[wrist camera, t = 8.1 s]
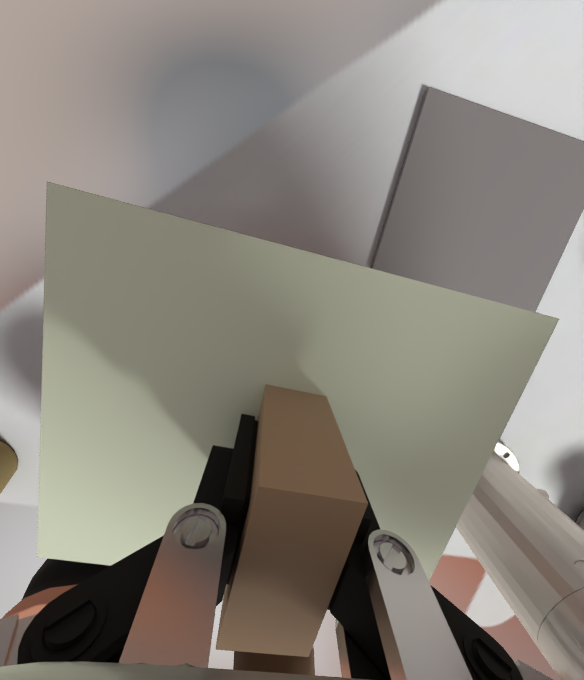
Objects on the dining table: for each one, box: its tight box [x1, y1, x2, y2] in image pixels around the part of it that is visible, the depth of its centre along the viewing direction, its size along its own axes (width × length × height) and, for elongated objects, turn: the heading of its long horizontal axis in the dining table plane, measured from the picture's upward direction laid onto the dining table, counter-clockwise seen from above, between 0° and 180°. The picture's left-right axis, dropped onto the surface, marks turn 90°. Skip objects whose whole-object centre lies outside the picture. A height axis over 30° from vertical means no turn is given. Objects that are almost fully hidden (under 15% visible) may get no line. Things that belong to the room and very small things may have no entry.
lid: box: [37, 182, 559, 657], centre depth 9 cm, size 18×15×6 cm
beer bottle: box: [233, 647, 315, 676], centre depth 26 cm, size 8×8×24 cm
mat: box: [371, 87, 584, 312], centre depth 28 cm, size 19×16×1 cm
